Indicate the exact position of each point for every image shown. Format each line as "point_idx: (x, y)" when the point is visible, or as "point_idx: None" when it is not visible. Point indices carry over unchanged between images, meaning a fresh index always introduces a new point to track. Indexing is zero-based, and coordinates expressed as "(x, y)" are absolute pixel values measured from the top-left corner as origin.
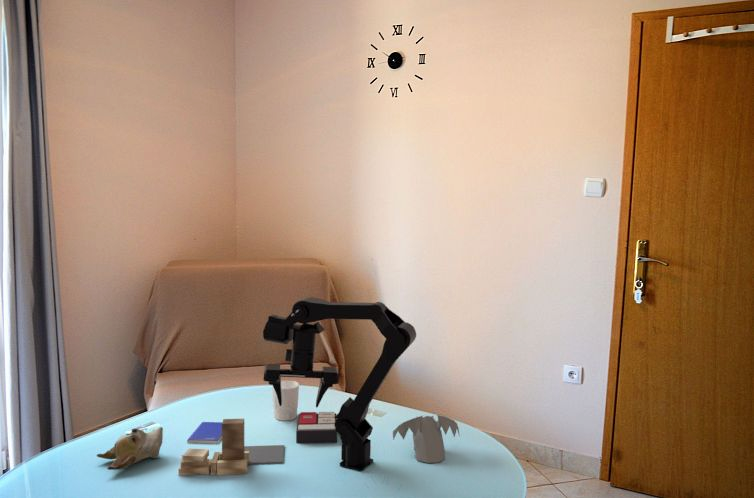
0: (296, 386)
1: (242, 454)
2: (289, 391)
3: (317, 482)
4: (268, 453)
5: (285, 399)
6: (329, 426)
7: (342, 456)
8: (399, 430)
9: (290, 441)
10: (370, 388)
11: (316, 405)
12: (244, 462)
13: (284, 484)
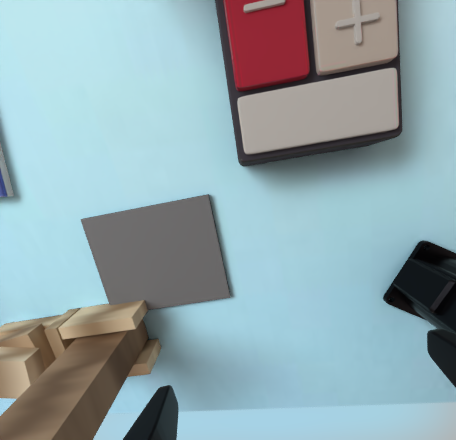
0: None
1: (127, 373)
2: None
3: (329, 373)
4: (179, 255)
5: None
6: (372, 103)
7: (403, 292)
8: None
9: (218, 154)
10: None
11: (448, 376)
12: (145, 373)
13: (257, 384)
